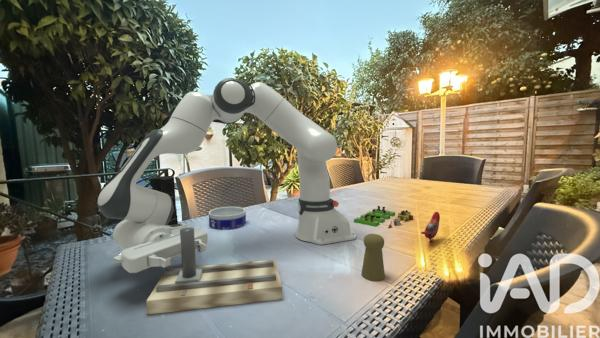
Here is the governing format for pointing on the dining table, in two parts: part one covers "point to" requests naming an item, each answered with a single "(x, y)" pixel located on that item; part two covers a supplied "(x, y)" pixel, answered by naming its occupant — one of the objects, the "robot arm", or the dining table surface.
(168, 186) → the portable radio
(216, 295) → the fader board
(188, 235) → the fader knob
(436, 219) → the decorative bird figurine
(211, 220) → the dog bowl
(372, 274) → the olive green pawn
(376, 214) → the toy garden set
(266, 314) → the dining table surface
